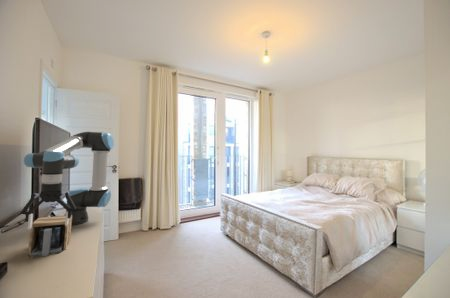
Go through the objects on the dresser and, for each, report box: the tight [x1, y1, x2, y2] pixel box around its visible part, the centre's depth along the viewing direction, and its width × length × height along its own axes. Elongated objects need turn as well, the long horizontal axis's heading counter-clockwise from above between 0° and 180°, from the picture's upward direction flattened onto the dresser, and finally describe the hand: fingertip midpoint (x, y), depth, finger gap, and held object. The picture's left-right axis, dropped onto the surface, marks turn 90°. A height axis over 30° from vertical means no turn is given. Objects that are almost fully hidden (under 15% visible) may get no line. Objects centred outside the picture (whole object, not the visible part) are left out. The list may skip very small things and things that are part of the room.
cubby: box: [27, 214, 73, 256], centre depth 102 cm, size 11×14×14 cm
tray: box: [29, 228, 64, 258], centre depth 100 cm, size 14×11×12 cm
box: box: [39, 224, 63, 250], centre depth 101 cm, size 8×6×11 cm
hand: (48, 226), depth 95 cm, fingers open, 13 cm apart
